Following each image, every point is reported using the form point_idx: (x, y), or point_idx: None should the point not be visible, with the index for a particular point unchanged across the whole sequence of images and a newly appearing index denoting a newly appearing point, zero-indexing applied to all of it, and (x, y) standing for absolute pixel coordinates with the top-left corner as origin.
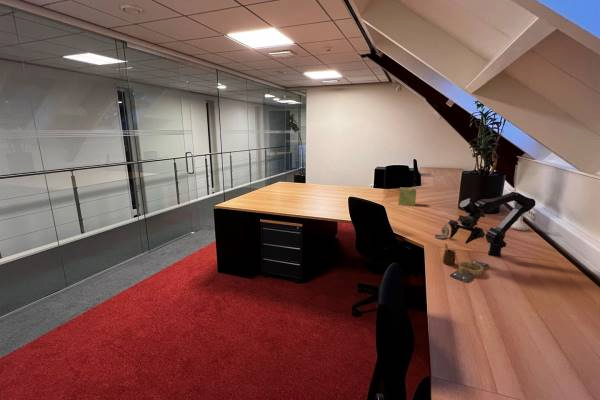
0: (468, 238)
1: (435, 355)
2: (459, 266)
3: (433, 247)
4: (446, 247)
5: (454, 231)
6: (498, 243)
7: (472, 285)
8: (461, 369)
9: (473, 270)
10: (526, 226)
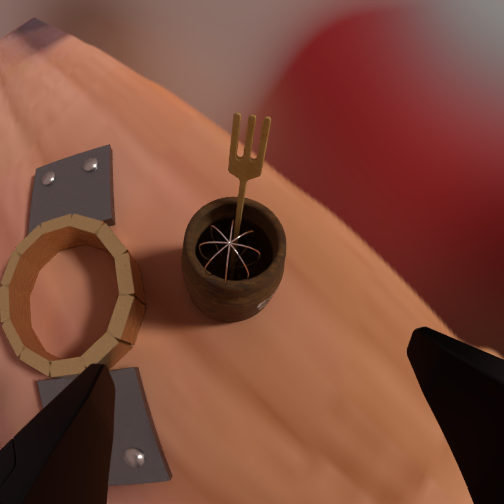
0: (46, 423)
1: (42, 22)
2: (101, 222)
3: None
4: (243, 158)
5: (500, 443)
6: None
7: (19, 179)
8: (15, 35)
9: (23, 243)
10: None
